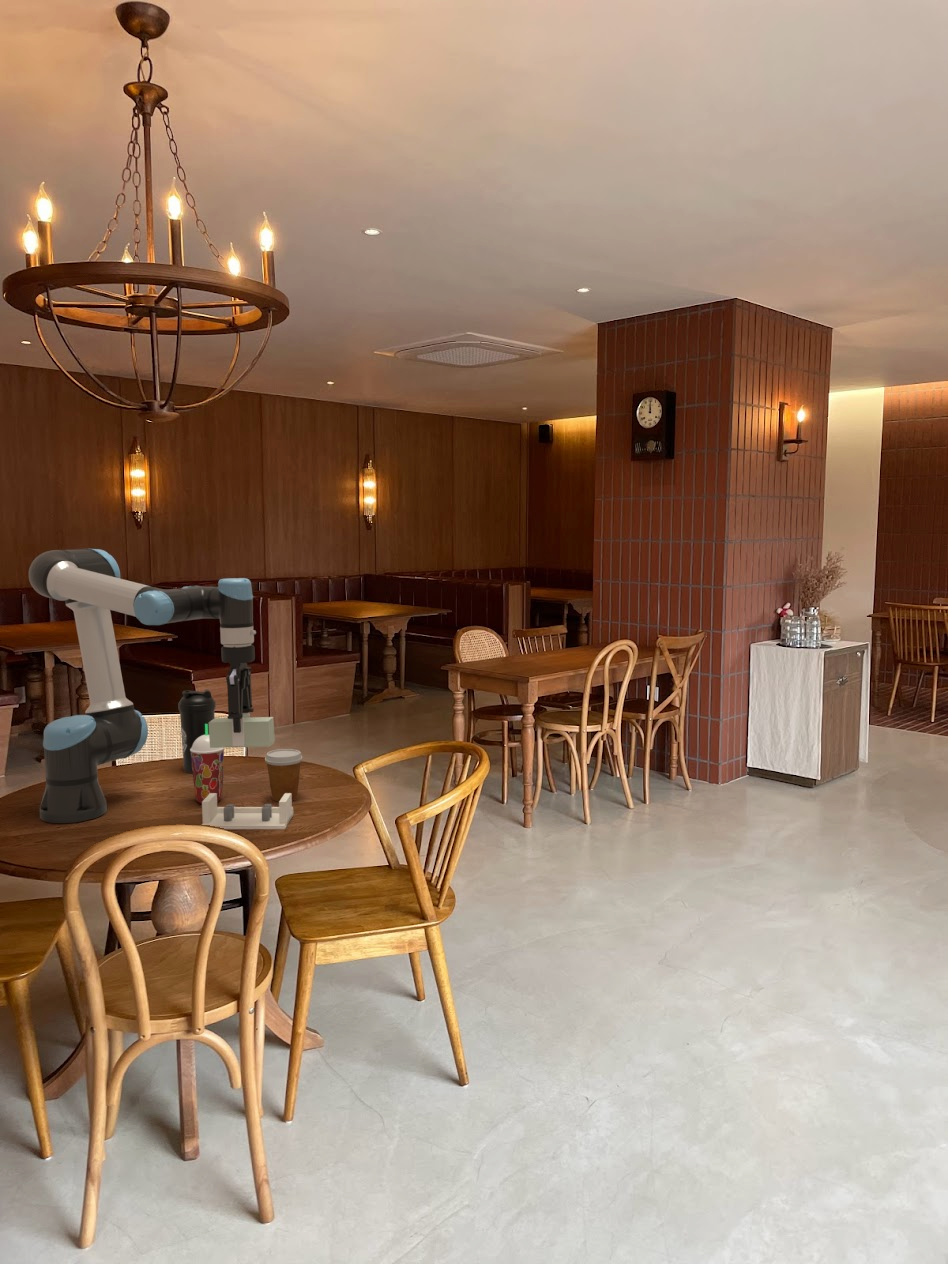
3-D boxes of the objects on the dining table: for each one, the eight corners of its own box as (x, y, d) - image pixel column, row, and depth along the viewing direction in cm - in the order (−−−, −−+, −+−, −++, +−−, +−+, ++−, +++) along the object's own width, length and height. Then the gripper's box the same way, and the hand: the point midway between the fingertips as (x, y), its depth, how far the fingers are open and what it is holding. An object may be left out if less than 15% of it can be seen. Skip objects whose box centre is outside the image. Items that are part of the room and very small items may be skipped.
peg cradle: (200, 829, 222) (199, 804, 221) (213, 815, 232) (212, 791, 232) (284, 829, 222) (284, 804, 221) (293, 815, 232) (292, 791, 232)
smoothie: (231, 797, 247) (229, 721, 245) (214, 806, 239) (212, 728, 237) (203, 794, 249) (200, 719, 247) (185, 804, 241) (182, 726, 239)
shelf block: (210, 747, 222) (208, 722, 222) (216, 742, 227) (215, 718, 227) (269, 746, 222) (268, 721, 221) (274, 741, 227) (273, 716, 226)
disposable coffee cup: (295, 805, 240) (294, 758, 239) (259, 802, 242) (258, 756, 241) (309, 794, 250) (308, 749, 248) (274, 792, 252) (273, 747, 250)
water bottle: (180, 766, 277) (177, 688, 274) (216, 764, 280) (214, 686, 277) (180, 775, 268) (177, 695, 265) (218, 772, 271) (215, 693, 268)
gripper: (244, 649, 213) (248, 751, 215) (262, 639, 231) (266, 734, 233) (210, 650, 213) (215, 752, 216) (232, 640, 231) (236, 734, 233)
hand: (242, 742), depth 224 cm, fingers closed on shelf block, 5 cm apart
